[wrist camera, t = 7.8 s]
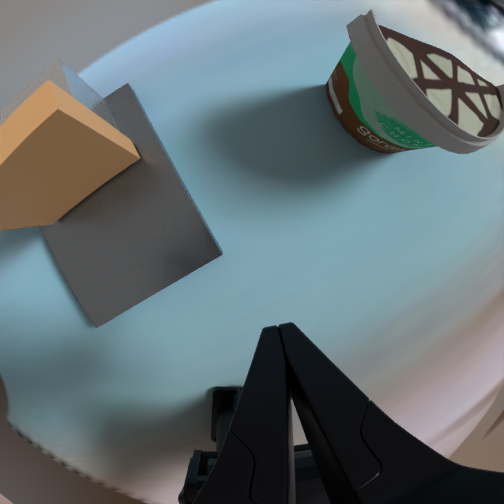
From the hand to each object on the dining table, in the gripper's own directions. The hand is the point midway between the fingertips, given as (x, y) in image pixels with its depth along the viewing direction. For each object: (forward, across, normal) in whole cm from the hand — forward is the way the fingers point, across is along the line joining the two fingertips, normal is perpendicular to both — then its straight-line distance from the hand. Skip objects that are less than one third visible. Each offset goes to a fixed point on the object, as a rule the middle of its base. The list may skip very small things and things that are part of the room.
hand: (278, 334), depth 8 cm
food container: (+15, -12, -3) cm, 19 cm away
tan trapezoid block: (+12, +11, -6) cm, 18 cm away
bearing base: (+13, +10, -1) cm, 16 cm away
